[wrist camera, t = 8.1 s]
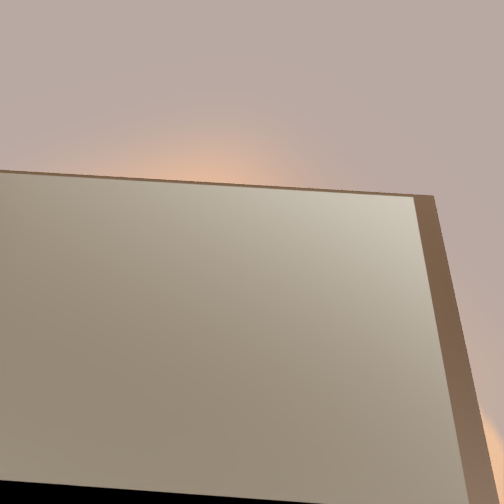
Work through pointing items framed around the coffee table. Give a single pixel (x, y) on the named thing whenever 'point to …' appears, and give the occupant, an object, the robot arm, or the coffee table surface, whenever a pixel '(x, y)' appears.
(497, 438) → the coffee table surface
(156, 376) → the light wood tall block
